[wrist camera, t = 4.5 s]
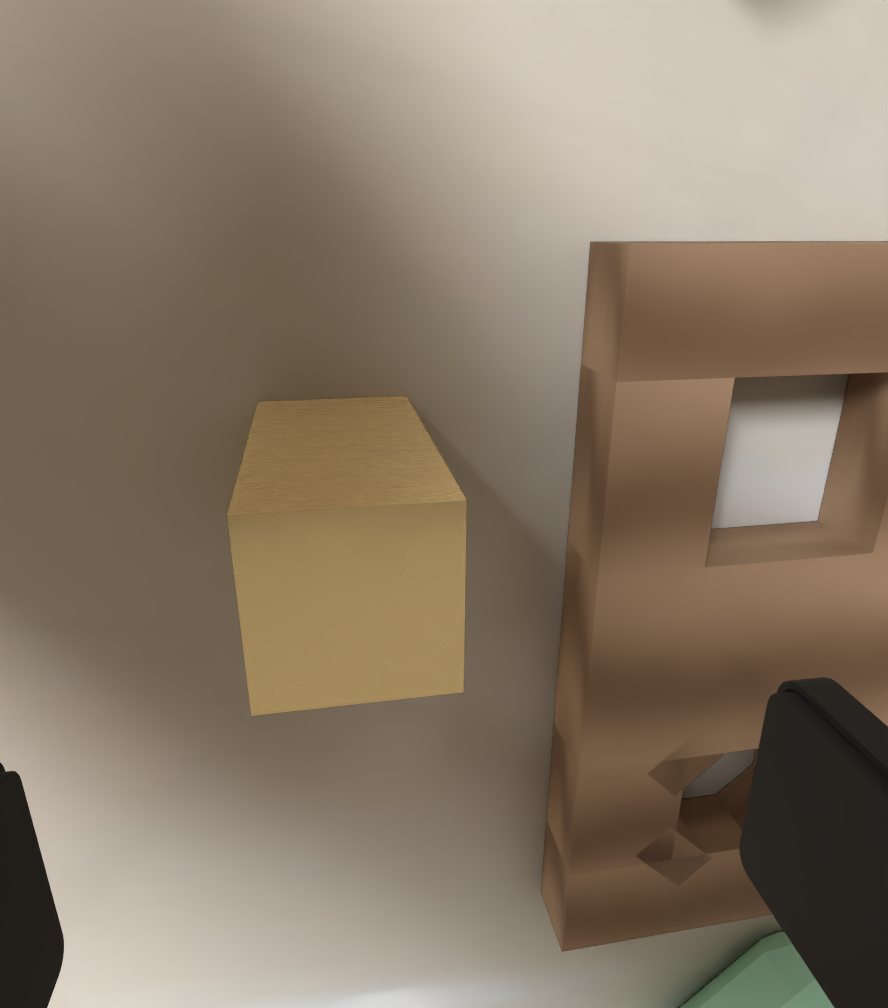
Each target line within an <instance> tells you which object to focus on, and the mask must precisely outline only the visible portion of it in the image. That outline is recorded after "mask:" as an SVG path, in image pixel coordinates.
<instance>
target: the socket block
mask: <svg viewBox="0 0 888 1008" xmlns="http://www.w3.org/2000/svg"><path fill="white" fill-rule="evenodd" d="M825 374H850V377H849V381H848V386H847V390H846V395H845V399H844V404H843V408H842V413H841V418H840V422H839V427H838V431H837V436H836V440H835V445H834V449H833V454H832V459H831V463H830V468H829V472H828V477H827V481H826V486H825V490H824V495H823V500H822V504H821V509H820V513H819V518H818V521H811V522H798V523H784V524H771V525H758V526H744V527H731V528H718V529H711V525H712V518H713V512H714V506H715V499H716V493H717V487H718V481H719V474H720V468H721V462H722V455H723V449H724V443H725V436H726V430H727V424H728V417H729V411H730V405H731V399H732V392H733V386H734V380H735V378H742V377H770V376H798V375H825ZM820 677H826V678H831V679H833V680H834V681H836V682H837V683H839V684H840V685H841V686H842V687H843V688H844V689H845V690H847V691H848V692H849V693H850V694H851V695H852V696H853V697H855V698H856V699H857V700H858V701H859V702H860V703H862V704H863V705H864V706H865V707H866V708H867V709H868V710H870V711H871V712H872V713H873V714H874V715H875V716H876V717H878V718H879V719H880V720H881V721H882V722H883V723H884V724H886V725H887V726H888V241H738V242H590V254H589V267H588V280H587V293H586V306H585V319H584V333H583V346H582V359H581V372H580V385H579V398H578V412H577V425H576V438H575V451H574V464H573V477H572V490H571V504H570V517H569V530H568V543H567V556H566V569H565V582H564V596H563V609H562V622H561V635H560V648H559V661H558V674H557V688H556V701H555V714H554V727H553V740H552V753H551V766H550V780H549V793H548V806H547V819H546V832H545V845H544V858H543V872H542V885H541V893H542V896H543V899H544V901H545V904H546V907H547V910H548V913H549V916H550V919H551V921H552V924H553V927H554V930H555V933H556V936H557V939H558V942H559V944H560V947H561V950H562V952H563V951H568V950H574V949H580V948H585V947H591V946H597V945H602V944H608V943H614V942H619V941H625V940H630V939H636V938H642V937H647V936H653V935H659V934H664V933H670V932H676V931H681V930H687V929H693V928H698V927H704V926H709V925H715V924H721V923H726V922H732V921H738V920H743V919H749V918H755V917H760V916H766V915H772V912H771V911H770V909H769V908H768V906H767V905H766V903H765V902H764V900H763V899H762V897H761V896H760V894H759V893H758V891H757V890H756V888H755V887H754V885H753V883H752V882H751V880H750V879H749V877H748V876H747V874H746V872H745V870H744V868H743V865H742V862H741V858H740V851H739V845H740V839H741V834H742V829H743V824H744V818H745V813H746V808H747V803H748V798H749V793H750V788H751V783H752V778H753V773H754V768H755V763H756V758H757V753H758V748H759V743H760V737H761V732H762V727H763V722H764V717H765V712H766V707H767V703H768V700H769V697H770V696H771V695H772V694H775V693H777V690H778V688H779V686H780V685H781V684H782V683H783V682H786V681H790V680H800V679H810V678H820ZM751 749H756V752H755V757H754V762H753V764H752V765H751V766H750V767H749V768H747V769H746V770H745V771H744V772H743V773H742V774H740V775H739V776H738V777H737V778H736V779H734V780H733V781H732V782H731V783H730V784H729V785H727V786H726V787H725V788H724V789H723V790H722V791H720V792H719V793H718V794H717V795H710V796H703V797H696V798H689V799H682V793H683V789H684V788H685V787H686V786H687V785H689V784H690V783H691V782H692V781H693V780H694V779H696V778H697V777H698V776H699V775H700V774H701V773H703V772H704V771H705V770H706V769H707V768H708V767H710V766H711V765H712V764H713V763H714V762H715V761H717V760H718V759H719V758H720V757H721V756H722V755H724V754H725V753H729V752H736V751H744V750H751ZM681 799H682V800H681Z"/></svg>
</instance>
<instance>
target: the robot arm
mask: <svg viewBox="0 0 888 1008" xmlns="http://www.w3.org/2000/svg"><path fill="white" fill-rule="evenodd" d="M739 851H740V858H741V862H742V865H743V868H744V870H745V872H746V874H747V876H748V877H749V879H750V880H751V882H752V883H753V885H754V887H755V888H756V890H757V891H758V893H759V894H760V896H761V897H762V899H763V900H764V902H765V903H766V905H767V906H768V908H769V909H770V911H771V912H772V914H773V915H774V917H775V918H776V920H777V921H778V923H779V924H780V926H781V928H782V929H783V931H784V932H785V934H786V935H787V937H788V938H789V940H790V941H791V943H792V944H793V946H794V947H795V949H796V950H797V952H798V953H799V955H800V956H801V958H802V959H803V961H804V962H805V964H806V965H807V967H808V968H809V970H810V972H811V973H812V975H813V976H814V978H815V979H816V981H817V982H818V984H819V985H820V987H821V988H822V990H823V991H824V993H825V994H826V996H827V997H828V999H829V1000H830V1002H831V1003H832V1005H833V1006H834V1008H888V726H887V725H886V724H884V723H883V722H882V721H881V720H880V719H879V718H878V717H876V716H875V715H874V714H873V713H872V712H871V711H870V710H868V709H867V708H866V707H865V706H864V705H863V704H862V703H860V702H859V701H858V700H857V699H856V698H855V697H853V696H852V695H851V694H850V693H849V692H848V691H847V690H845V689H844V688H843V687H842V686H841V685H840V684H839V683H837V682H836V681H834V680H833V679H831V678H826V677H820V678H810V679H800V680H790V681H786V682H783V683H782V684H781V685H780V686H779V688H778V690H777V693H775V694H772V695H771V696H770V697H769V700H768V703H767V707H766V712H765V717H764V722H763V727H762V732H761V737H760V743H759V748H758V753H757V758H756V763H755V768H754V773H753V778H752V783H751V788H750V793H749V798H748V803H747V808H746V813H745V818H744V824H743V829H742V834H741V839H740V845H739ZM63 953H64V939H63V933H62V930H61V926H60V922H59V918H58V915H57V911H56V907H55V904H54V900H53V896H52V892H51V889H50V885H49V881H48V878H47V874H46V870H45V867H44V863H43V859H42V855H41V852H40V848H39V844H38V841H37V837H36V833H35V829H34V826H33V822H32V818H31V815H30V811H29V807H28V803H27V800H26V796H25V792H24V789H23V785H22V781H21V779H20V776H19V774H18V773H17V772H15V771H8V772H5V769H4V767H3V765H2V764H1V763H0V1008H47V1006H48V1004H49V1001H50V998H51V995H52V993H53V990H54V987H55V984H56V982H57V979H58V976H59V973H60V970H61V966H62V961H63Z"/></svg>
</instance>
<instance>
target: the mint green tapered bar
mask: <svg viewBox="0 0 888 1008" xmlns="http://www.w3.org/2000/svg"><path fill="white" fill-rule="evenodd" d="M680 1008H834V1006H833V1005H832V1003H831V1002H830V1000H829V999H828V997H827V996H826V994H825V993H824V991H823V990H822V988H821V987H820V985H819V984H818V982H817V981H816V979H815V978H814V976H813V975H812V973H811V972H810V970H809V968H808V967H807V965H806V964H805V962H804V961H803V959H802V958H801V956H800V955H799V953H798V952H797V950H796V949H795V947H794V946H793V944H792V943H791V941H790V940H789V938H788V937H787V935H786V934H785V932H784V931H783V932H777V933H775V934H772V935H769V936H767V937H764V938H762V939H761V940H760V941H758V942H757V943H756V944H755V945H754V946H752V947H751V948H750V949H749V950H748V951H747V952H745V953H744V954H743V955H742V956H741V957H739V958H738V959H737V960H736V961H735V962H733V963H732V964H731V965H730V966H729V967H728V968H726V969H725V970H724V971H723V972H722V973H720V974H719V975H718V976H717V977H716V978H714V979H713V980H712V981H711V982H710V983H709V984H707V985H706V986H705V987H704V988H703V989H701V990H700V991H699V992H698V993H697V994H695V995H694V996H693V997H692V998H691V999H690V1000H688V1001H687V1002H686V1003H685V1004H684V1005H682V1006H681V1007H680Z"/></svg>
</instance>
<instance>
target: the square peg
mask: <svg viewBox="0 0 888 1008" xmlns="http://www.w3.org/2000/svg"><path fill="white" fill-rule="evenodd" d="M466 515H467V500H466V498H465V496H464V495H463V493H462V491H461V489H460V488H459V486H458V484H457V483H456V481H455V479H454V477H453V476H452V474H451V472H450V470H449V469H448V467H447V465H446V463H445V462H444V460H443V458H442V457H441V455H440V453H439V451H438V450H437V448H436V446H435V444H434V443H433V441H432V439H431V437H430V436H429V434H428V432H427V431H426V429H425V427H424V425H423V424H422V422H421V420H420V418H419V417H418V415H417V413H416V411H415V410H414V408H413V406H412V405H411V403H410V401H409V399H408V398H407V396H392V397H366V398H340V399H314V400H288V401H262V402H258V403H257V407H256V411H255V414H254V418H253V422H252V425H251V429H250V433H249V436H248V440H247V444H246V447H245V451H244V455H243V458H242V462H241V466H240V469H239V473H238V476H237V480H236V484H235V487H234V491H233V495H232V498H231V502H230V506H229V509H228V513H227V522H228V530H229V538H230V547H231V555H232V563H233V571H234V579H235V588H236V596H237V604H238V612H239V620H240V629H241V637H242V645H243V653H244V662H245V670H246V678H247V686H248V694H249V703H250V711H251V716H255V715H264V714H273V713H282V712H291V711H300V710H309V709H318V708H327V707H336V706H345V705H354V704H363V703H372V702H381V701H390V700H399V699H408V698H417V697H426V696H435V695H444V694H453V693H462V692H464V641H465V578H466Z"/></svg>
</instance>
